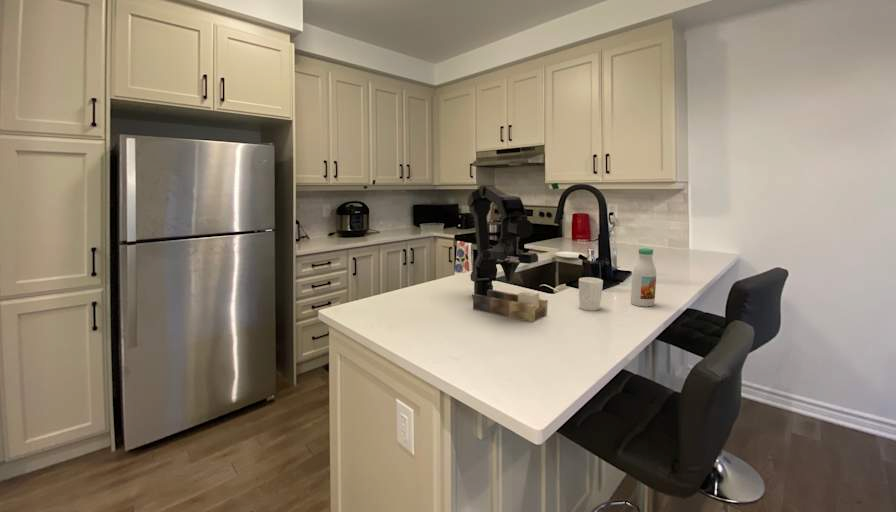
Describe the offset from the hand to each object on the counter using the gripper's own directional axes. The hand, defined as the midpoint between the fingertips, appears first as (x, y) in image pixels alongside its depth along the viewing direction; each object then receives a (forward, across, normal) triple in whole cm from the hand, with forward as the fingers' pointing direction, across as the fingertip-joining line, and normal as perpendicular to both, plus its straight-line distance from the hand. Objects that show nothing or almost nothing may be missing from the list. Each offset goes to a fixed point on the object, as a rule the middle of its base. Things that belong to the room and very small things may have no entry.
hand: (508, 281), depth 141 cm
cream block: (+8, +8, 0) cm, 11 cm away
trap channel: (+10, 0, 0) cm, 11 cm away
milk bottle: (+11, +33, +37) cm, 51 cm away
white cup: (+11, +20, +21) cm, 31 cm away
